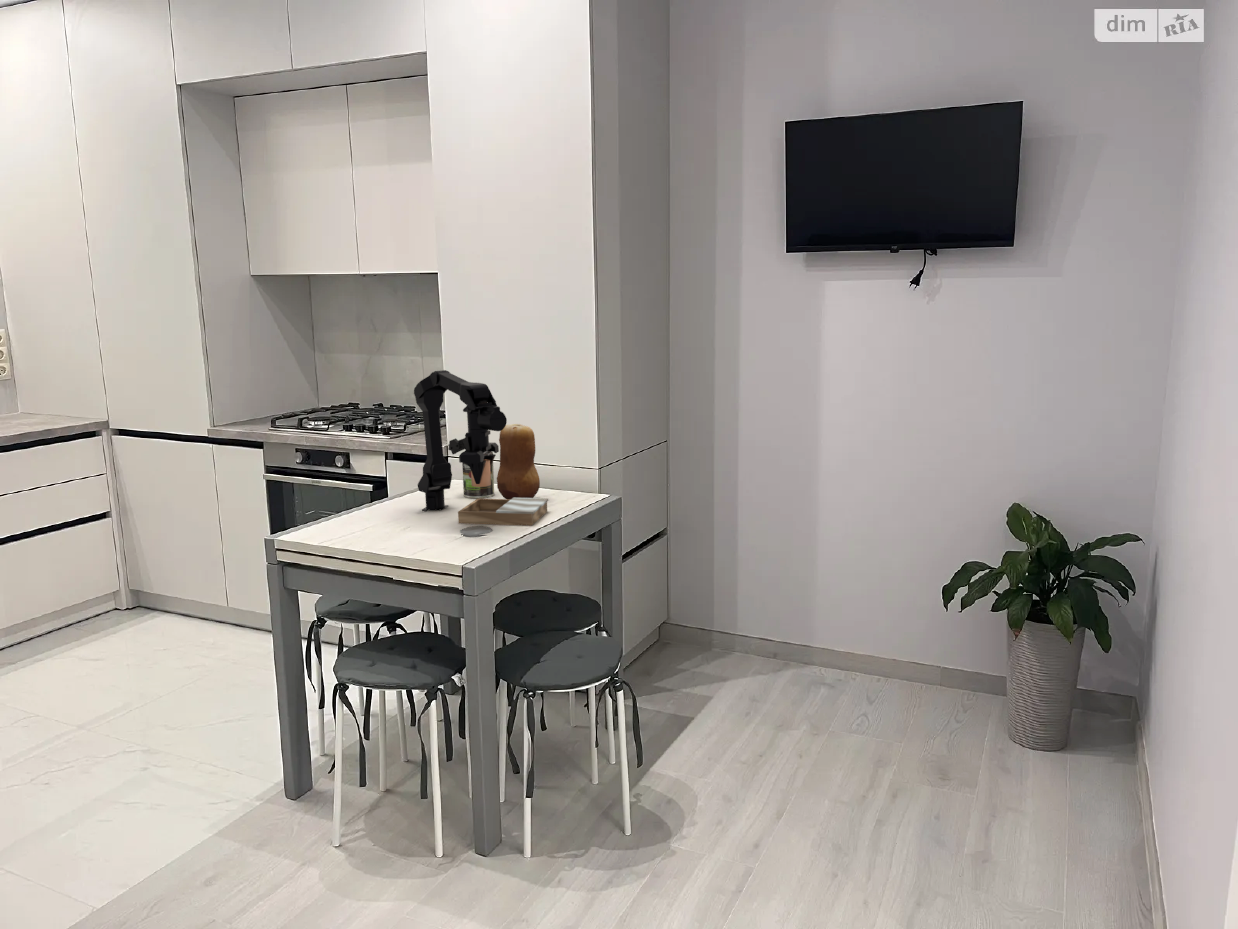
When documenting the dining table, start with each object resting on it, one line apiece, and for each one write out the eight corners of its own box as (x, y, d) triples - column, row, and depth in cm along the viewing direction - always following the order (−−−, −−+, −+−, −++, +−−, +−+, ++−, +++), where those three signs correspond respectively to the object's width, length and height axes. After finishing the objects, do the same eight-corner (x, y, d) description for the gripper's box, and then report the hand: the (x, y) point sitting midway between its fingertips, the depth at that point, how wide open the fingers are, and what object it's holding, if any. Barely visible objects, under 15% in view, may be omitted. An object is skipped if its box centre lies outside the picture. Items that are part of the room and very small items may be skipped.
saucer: (466, 528, 271) (466, 525, 271) (496, 529, 270) (496, 526, 270) (455, 536, 263) (455, 533, 263) (486, 537, 261) (486, 534, 261)
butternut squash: (546, 498, 307) (543, 421, 303) (532, 507, 295) (529, 428, 290) (506, 496, 311) (502, 420, 306) (490, 505, 298) (487, 427, 293)
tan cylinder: (475, 482, 277) (473, 459, 276) (493, 483, 276) (492, 459, 275) (469, 486, 271) (467, 462, 270) (487, 487, 270) (486, 462, 269)
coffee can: (487, 499, 307) (485, 456, 304) (458, 497, 310) (456, 455, 307) (500, 492, 317) (498, 450, 314) (471, 491, 320) (469, 449, 317)
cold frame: (478, 511, 291) (477, 496, 290) (548, 513, 287) (548, 498, 286) (458, 525, 275) (457, 509, 274) (533, 527, 271) (533, 511, 270)
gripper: (461, 423, 281) (464, 475, 284) (439, 433, 263) (443, 488, 266) (497, 423, 279) (500, 475, 282) (478, 433, 261) (481, 488, 264)
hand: (481, 481), depth 273 cm, fingers closed on tan cylinder, 6 cm apart
